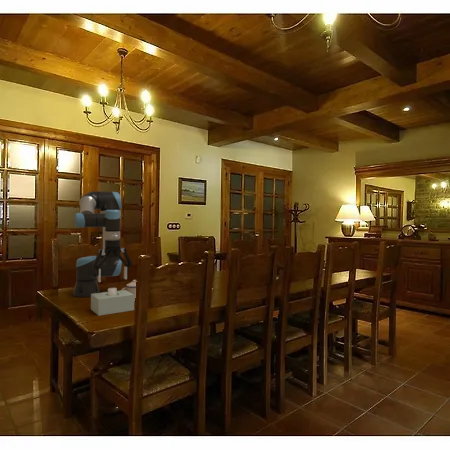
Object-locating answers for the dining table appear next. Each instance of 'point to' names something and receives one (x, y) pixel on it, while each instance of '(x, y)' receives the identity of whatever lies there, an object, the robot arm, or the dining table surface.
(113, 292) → the cylinder
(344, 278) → the dining table surface
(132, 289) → the teacup with lid
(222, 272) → the dining table surface
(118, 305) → the block
